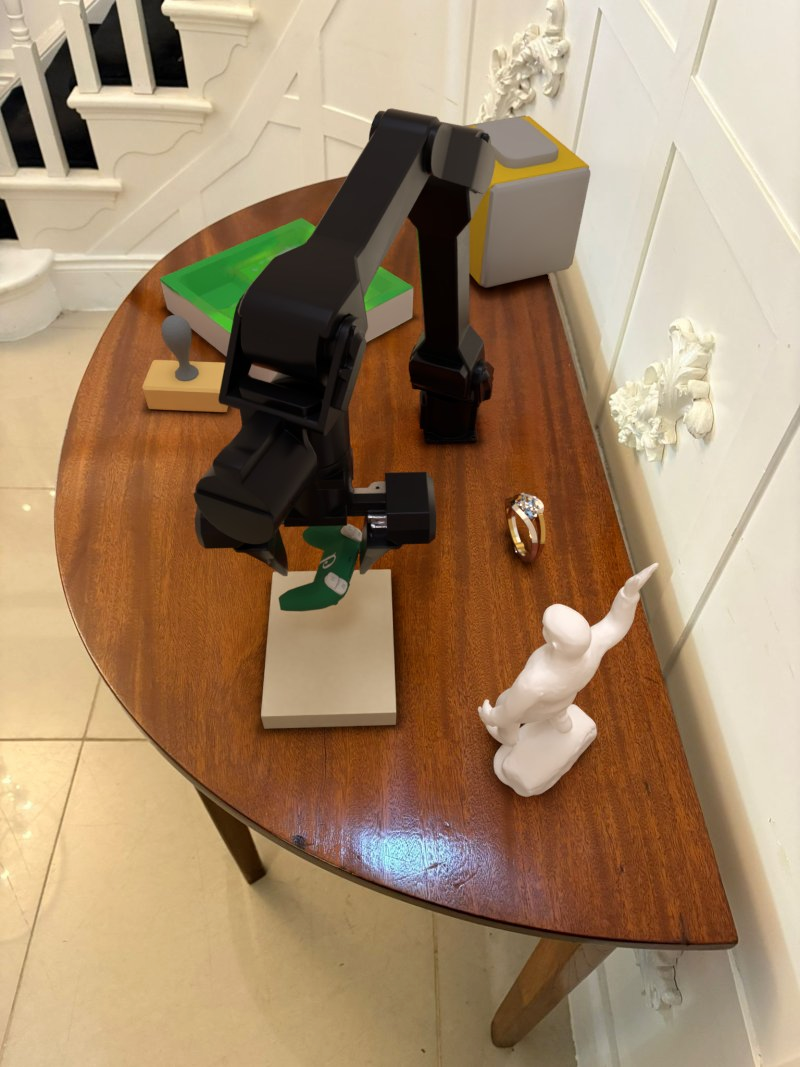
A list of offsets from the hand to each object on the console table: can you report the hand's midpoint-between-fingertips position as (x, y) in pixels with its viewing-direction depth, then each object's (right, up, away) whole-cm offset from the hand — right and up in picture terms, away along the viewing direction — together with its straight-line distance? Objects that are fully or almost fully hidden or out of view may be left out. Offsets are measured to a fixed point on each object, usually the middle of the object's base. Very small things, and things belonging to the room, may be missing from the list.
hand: (324, 571), depth 69 cm
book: (0, -8, +7) cm, 11 cm away
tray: (-9, +35, +43) cm, 56 cm away
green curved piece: (0, -1, +1) cm, 1 cm away
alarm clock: (+22, +46, +53) cm, 74 cm away
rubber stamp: (-20, +21, +31) cm, 42 cm away
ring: (+20, +1, +16) cm, 25 cm away
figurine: (+18, -16, +1) cm, 25 cm away
